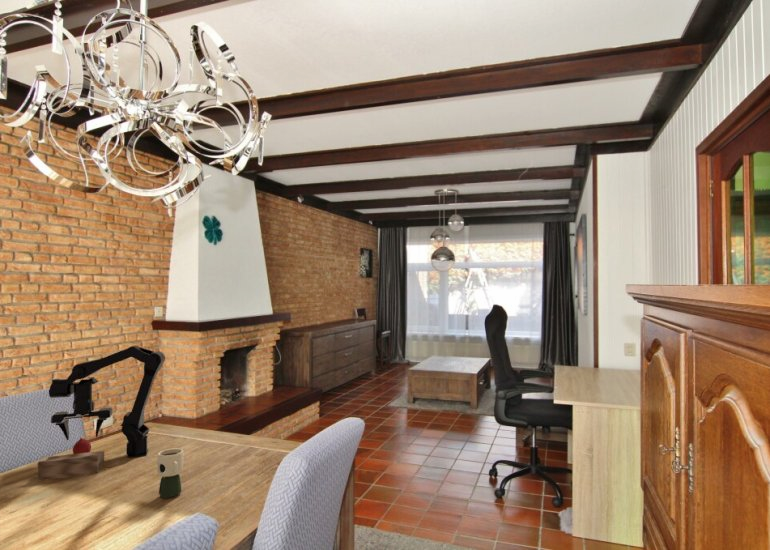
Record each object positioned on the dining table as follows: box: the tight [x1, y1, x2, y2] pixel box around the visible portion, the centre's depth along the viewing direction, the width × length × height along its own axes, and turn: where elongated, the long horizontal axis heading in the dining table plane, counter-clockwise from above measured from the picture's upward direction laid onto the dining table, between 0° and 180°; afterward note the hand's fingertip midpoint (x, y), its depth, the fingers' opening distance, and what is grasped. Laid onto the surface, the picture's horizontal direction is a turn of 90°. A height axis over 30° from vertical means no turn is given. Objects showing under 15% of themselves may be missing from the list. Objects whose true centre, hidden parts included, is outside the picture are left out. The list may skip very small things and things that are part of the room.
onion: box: [72, 436, 92, 454], centre depth 175 cm, size 6×6×8 cm
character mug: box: [156, 447, 184, 499], centre depth 142 cm, size 11×7×13 cm, turn 41°
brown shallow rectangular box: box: [37, 450, 105, 481], centre depth 162 cm, size 17×12×6 cm
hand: (82, 438), depth 175 cm, fingers open, 9 cm apart
